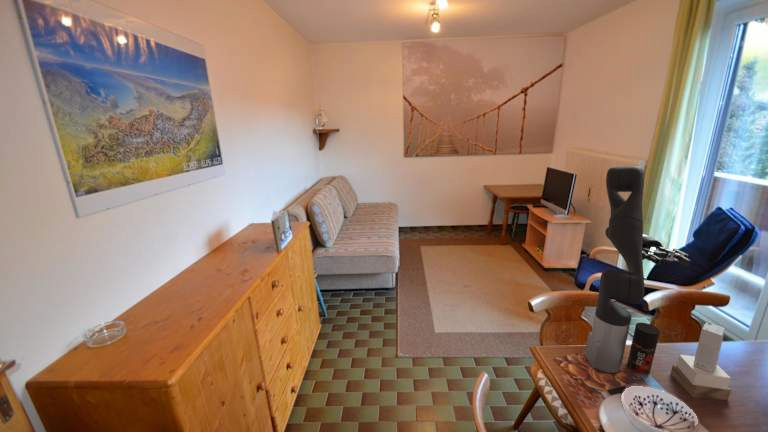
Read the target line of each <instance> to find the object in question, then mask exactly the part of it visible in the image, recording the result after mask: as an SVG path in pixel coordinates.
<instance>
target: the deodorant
mask: <svg viewBox="0 0 768 432" xmlns="http://www.w3.org/2000/svg"><path fill="white" fill-rule="evenodd" d="M660 332H661V331H660V329H659V328H658V327H656V326H654V325H653V324H650V323H646V322H637V323H636V324H635V327H634V330H633V336H632V341H631V345H630V349H629V354H628V358H627V364H626V365H627V367H628V369H629V370H631V371H632V372H634V373H636V374H638V375H642V376H647V375H650V373H651V370H652V365H653V362H654V358H655V353H656V349H657V347H658V346H657V345H658V341H659V338H660V334H661V333H660Z"/></svg>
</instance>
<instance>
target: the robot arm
mask: <svg viewBox="0 0 768 432" xmlns="http://www.w3.org/2000/svg"><path fill="white" fill-rule="evenodd" d="M605 177H606V179H605V186H606V192H607V197H608V202H609V207H610V208H609V209H610V217H609V220H608V226H607V228H606V229H605V236H606V238H607V239H608V240H609V241H610V243H611V244H612V245H613V247H614V248H615V249H616V251H618V253H619V254H620V255H621V257H622V259H623V261H624V262H625V264H626V266H627V267H626V268H627V271H625V270H624V271H623V270H618V269H612V268H606V269H604V270H603V271H602V272H601V275H600V279H599V285H598V286H599V287H598V295H597V296H598V298H597V301H596V302H597V303H596V307H595V312H594V319H593V322H592V329H591V331H589V332H588V336H587V340H586V341H587V342H586V347H585V351H584V352H585V353H584V358H586V360H587V361H588V363H589V364H590V366H591V368H592V369H597V370H600V371H601V372H605V373H609V374H610V373H611V374H615V373H619V372H620V371H621V367H622V364H623V359H624V354H625V349H626V344H627V340H628V335H629V331H630V326H631V322H632V314H631V313H630V311H629V310H628V309H626V308H625V307H623V306H622V305H620V304H618V303H616V302H617V301H618V302H622V303H623V302H624V303H628V304H632V305H633V304H634V305H638V304H641V302H642V301H643V300H644V299H643V298H644V296H645V276H644V265H643V263H644V262H643V261H644V260H646V261H648V262H651V263H654V264H655V265H656V266H659V265H661V262H662V260H667V261H670V262H673V261H675V262H678V263H680V264H682V265H683V266H686V267H690V265H691V262H692V261H691V259H690V258H688V257H689V254H688V253H686V252H684V251H682V250H680V249H678V248H672V250H671V249H667V248H666V247H664V246H663V243H662V242H660V241H659V240H657V239H655V238H653V237H651V236H650V235H648V234H645V233H644V218H643V216H644V215H643V200H644V188H645V171H644V169H643V167H642V166H638V165H637V166H636V165H633V166H631V165H629V166H614V167H610V168H608V170H607V172H606V176H605ZM620 193H629V196H628V197H627V199H625V198H624V197H623V196H622V195H621V194H620ZM669 255H670V256H669ZM613 300H614V301H616V302H614V301H613Z"/></svg>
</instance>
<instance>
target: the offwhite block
mask: <svg viewBox="0 0 768 432" xmlns="http://www.w3.org/2000/svg"><path fill="white" fill-rule="evenodd" d="M694 360H695V355H686V354H679V355H678V358H677V361H676V364H675V365H676V366H677V367H678V368H679V369H680V370H681V371H682V372H683V374H684V375H685V376H686V377H687V378H688V379H689V381H690V382H691V383H692V384H693V385H698V386H705V387H712V388H720V389H727V388H728V387H729V385H730V382H731V376H729V375H728V373H726V372H725V371H724V370H723V369H722V368H721V367H720V366H719V365H718V364H717V365H716V368H715V370H714V371H713V372H709V371H706V370H704V369H702V368H699V367H697V366H695V365H694Z"/></svg>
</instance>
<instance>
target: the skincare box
mask: <svg viewBox="0 0 768 432" xmlns="http://www.w3.org/2000/svg"><path fill="white" fill-rule="evenodd" d="M725 331H726V328H725V327H723V326H720V325H717V324H714V323H710V322H708V321H707V322H705V324H703V325H702V328H701V329H700V335H699V339H698V343H697V348H696V351H695V355H694V356H695V360H694V365H695V366H697V367H699V368H702V369H704V370H706V371H709V372H713V371H714V370H715V368H716V365H718V360H719V358H720V357H719V356H720V352H721V348H722V344H723V340H724V335H725Z"/></svg>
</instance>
